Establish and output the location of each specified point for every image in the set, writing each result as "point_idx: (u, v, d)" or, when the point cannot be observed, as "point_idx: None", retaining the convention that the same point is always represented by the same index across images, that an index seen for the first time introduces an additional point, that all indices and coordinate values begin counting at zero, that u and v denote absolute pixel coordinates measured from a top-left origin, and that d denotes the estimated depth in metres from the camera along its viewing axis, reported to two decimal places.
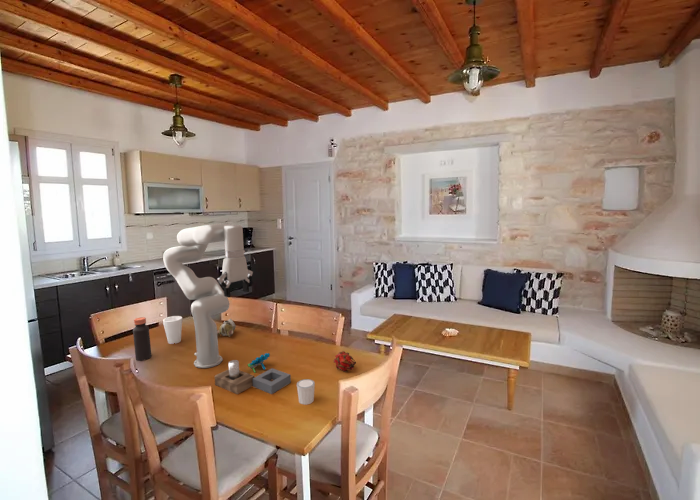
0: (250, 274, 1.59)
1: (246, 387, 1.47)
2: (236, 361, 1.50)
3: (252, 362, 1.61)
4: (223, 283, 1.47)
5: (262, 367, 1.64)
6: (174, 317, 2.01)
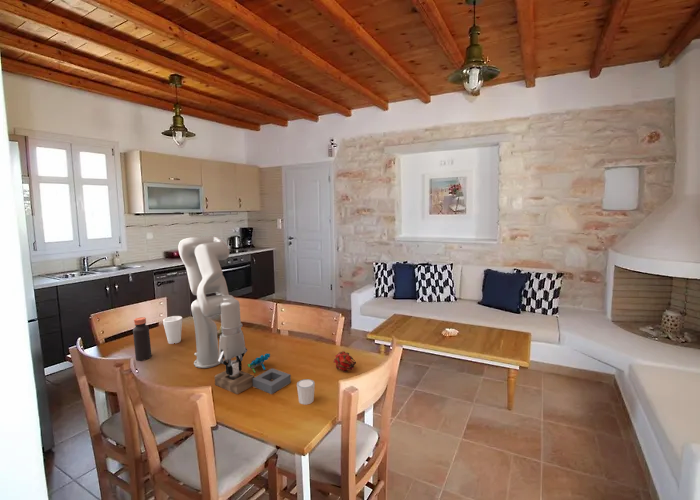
0: (244, 352, 1.54)
1: (246, 387, 1.47)
2: (236, 361, 1.50)
3: (252, 362, 1.61)
4: (225, 362, 1.45)
5: (262, 367, 1.64)
6: (174, 317, 2.01)
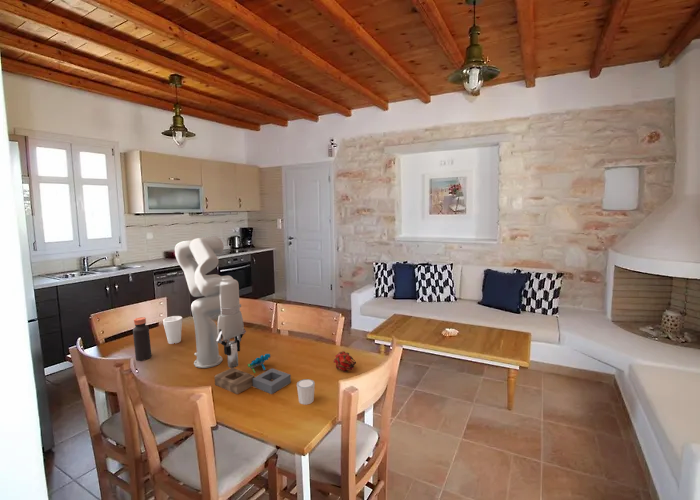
0: (242, 332, 1.53)
1: (246, 387, 1.47)
2: (234, 342, 1.49)
3: (252, 362, 1.61)
4: (223, 342, 1.44)
5: None
6: (174, 317, 2.01)
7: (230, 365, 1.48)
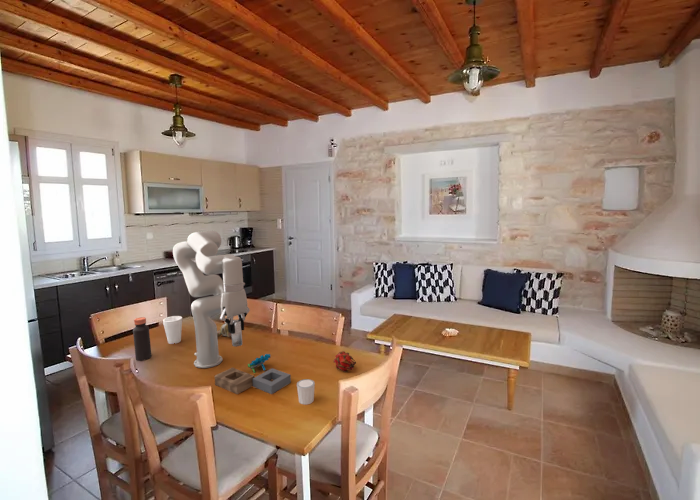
0: (246, 311, 1.51)
1: (246, 387, 1.47)
2: (238, 320, 1.48)
3: (252, 362, 1.61)
4: (227, 320, 1.43)
5: None
6: (174, 317, 2.01)
7: (234, 344, 1.46)
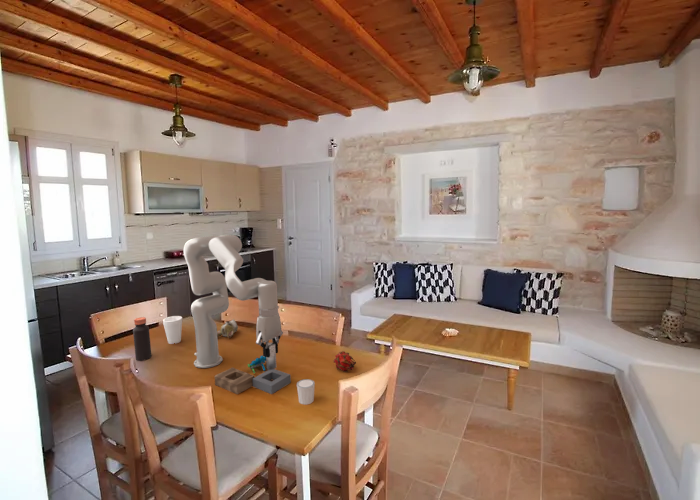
0: (280, 334, 1.52)
1: (246, 387, 1.47)
2: (273, 343, 1.49)
3: (252, 363, 1.61)
4: (263, 344, 1.44)
5: None
6: (174, 317, 2.01)
7: (269, 367, 1.48)
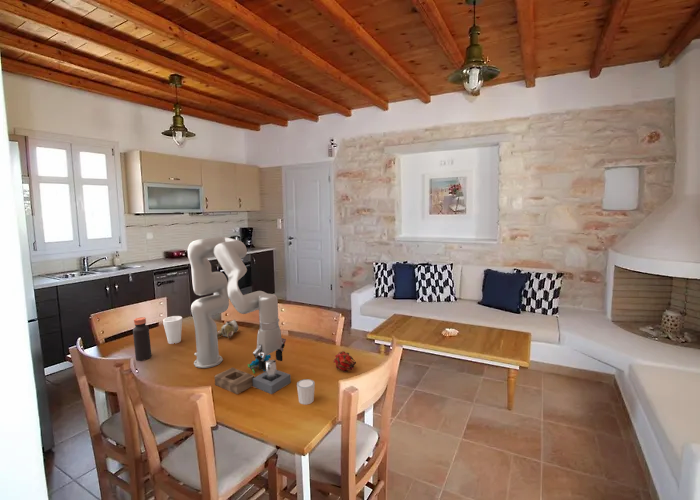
0: (283, 342, 1.54)
1: (246, 387, 1.47)
2: (273, 361, 1.50)
3: (252, 363, 1.61)
4: (259, 357, 1.43)
5: None
6: (174, 317, 2.01)
7: None
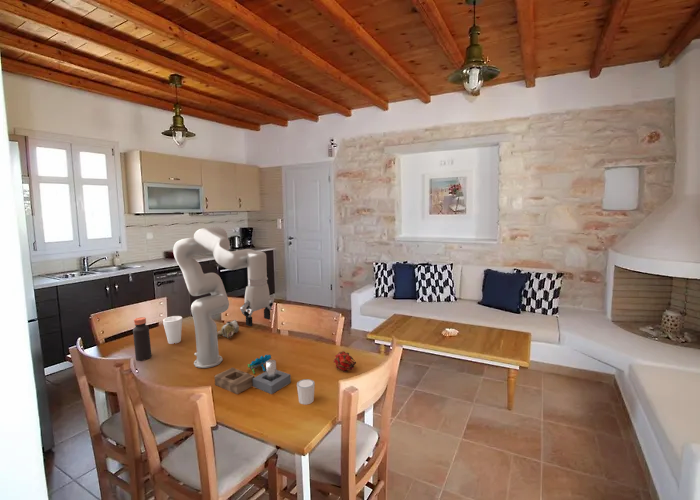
0: (272, 301, 1.55)
1: (246, 387, 1.47)
2: (273, 361, 1.50)
3: (252, 363, 1.61)
4: (246, 312, 1.43)
5: (262, 368, 1.63)
6: (174, 317, 2.01)
7: None
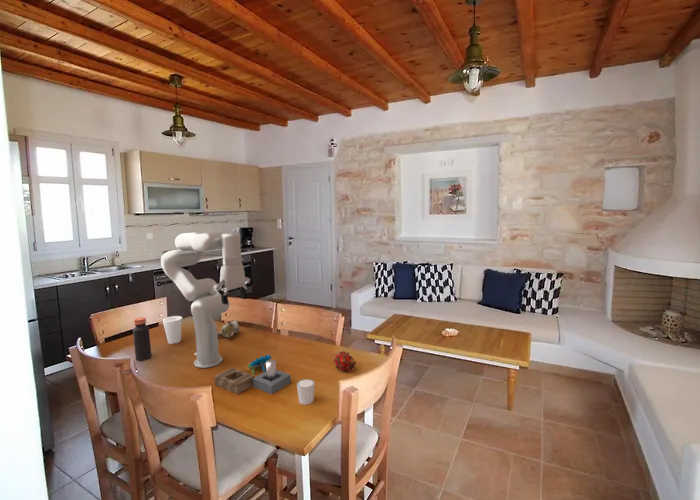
0: (248, 281, 1.60)
1: (246, 387, 1.47)
2: (273, 361, 1.50)
3: (251, 363, 1.61)
4: (221, 291, 1.49)
5: None
6: (174, 317, 2.01)
7: None
